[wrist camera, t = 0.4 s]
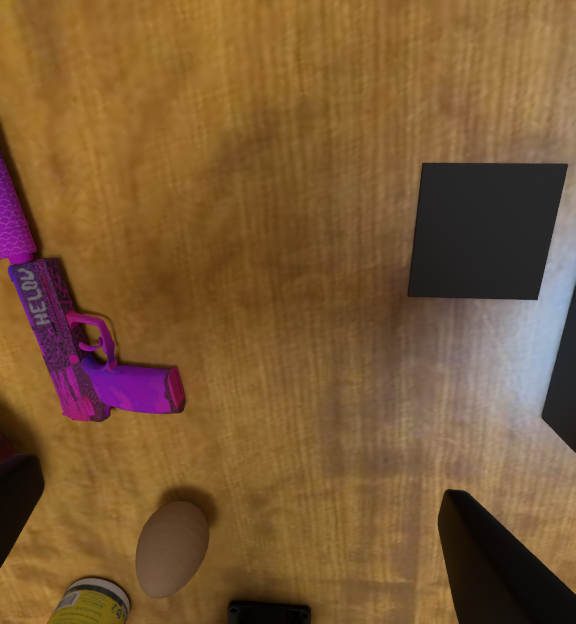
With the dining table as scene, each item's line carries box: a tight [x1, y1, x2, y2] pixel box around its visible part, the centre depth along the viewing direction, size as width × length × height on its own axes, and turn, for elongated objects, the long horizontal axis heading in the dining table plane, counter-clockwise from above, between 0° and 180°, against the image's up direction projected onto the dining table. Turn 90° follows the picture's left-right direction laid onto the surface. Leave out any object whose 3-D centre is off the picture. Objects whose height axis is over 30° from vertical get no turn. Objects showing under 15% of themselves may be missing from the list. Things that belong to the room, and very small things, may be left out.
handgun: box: [0, 150, 185, 422], centre depth 21 cm, size 21×8×2 cm, turn 10°
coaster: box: [408, 163, 568, 300], centre depth 20 cm, size 7×7×1 cm
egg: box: [136, 501, 209, 598], centre depth 25 cm, size 4×4×6 cm
